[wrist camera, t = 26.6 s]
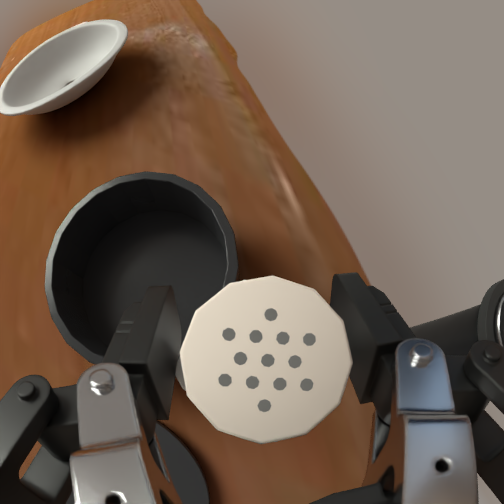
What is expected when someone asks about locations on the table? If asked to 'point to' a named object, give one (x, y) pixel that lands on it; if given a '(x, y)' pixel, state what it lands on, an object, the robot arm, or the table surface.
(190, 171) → the table surface
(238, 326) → the pepper shaker
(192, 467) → the lid
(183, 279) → the pot
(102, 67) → the soup bowl
